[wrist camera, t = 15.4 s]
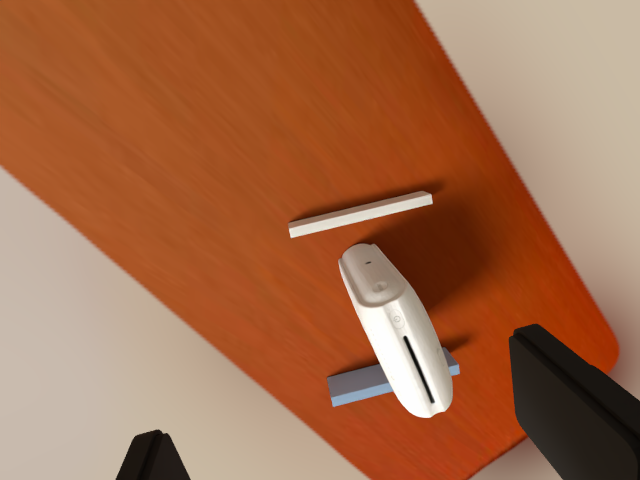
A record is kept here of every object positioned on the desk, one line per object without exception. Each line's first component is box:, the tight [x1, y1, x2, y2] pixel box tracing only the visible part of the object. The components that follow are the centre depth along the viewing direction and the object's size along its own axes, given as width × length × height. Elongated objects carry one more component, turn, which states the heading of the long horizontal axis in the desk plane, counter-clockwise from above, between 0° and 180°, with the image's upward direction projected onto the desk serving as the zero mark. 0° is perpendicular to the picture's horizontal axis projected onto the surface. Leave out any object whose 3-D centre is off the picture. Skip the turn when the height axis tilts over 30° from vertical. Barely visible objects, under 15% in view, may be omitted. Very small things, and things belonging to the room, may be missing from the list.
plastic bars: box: [288, 191, 460, 407], centre depth 35 cm, size 17×12×3 cm
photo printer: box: [339, 244, 453, 418], centre depth 30 cm, size 10×4×12 cm, turn 24°
